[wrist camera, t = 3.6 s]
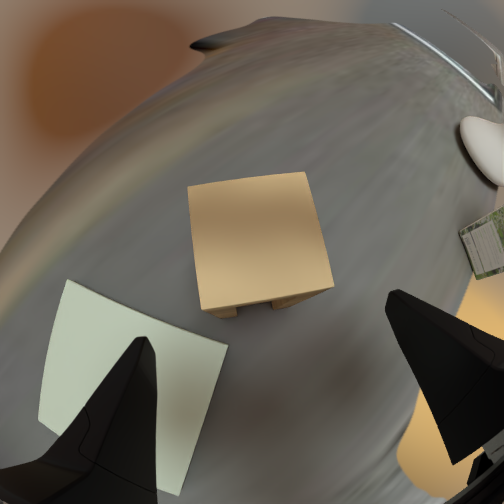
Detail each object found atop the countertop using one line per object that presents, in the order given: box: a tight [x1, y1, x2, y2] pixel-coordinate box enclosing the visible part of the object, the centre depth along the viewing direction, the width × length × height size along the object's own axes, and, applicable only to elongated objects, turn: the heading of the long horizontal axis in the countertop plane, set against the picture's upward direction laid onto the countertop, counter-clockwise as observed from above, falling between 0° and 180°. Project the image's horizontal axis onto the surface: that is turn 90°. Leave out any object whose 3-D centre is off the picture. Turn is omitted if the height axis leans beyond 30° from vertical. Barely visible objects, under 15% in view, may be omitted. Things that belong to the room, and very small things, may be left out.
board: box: [38, 279, 228, 496], centre depth 17 cm, size 14×14×1 cm
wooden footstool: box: [188, 172, 334, 319], centre depth 15 cm, size 5×5×10 cm
